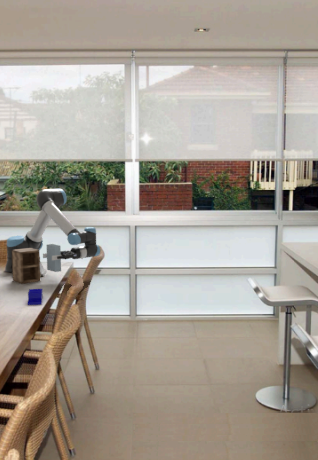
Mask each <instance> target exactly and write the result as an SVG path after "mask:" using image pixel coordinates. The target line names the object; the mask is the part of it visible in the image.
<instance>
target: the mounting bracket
mask: <svg viewBox="0 0 318 460" xmlns="http://www.w3.org/2000/svg"><path fill="white" fill-rule="evenodd" d="M43 294H44V293H43V288H31V289H28V293H27V298H28V300H27V306H37V305H38V306H40V305H41V306H42V304H43V299H44V295H43Z"/></svg>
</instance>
